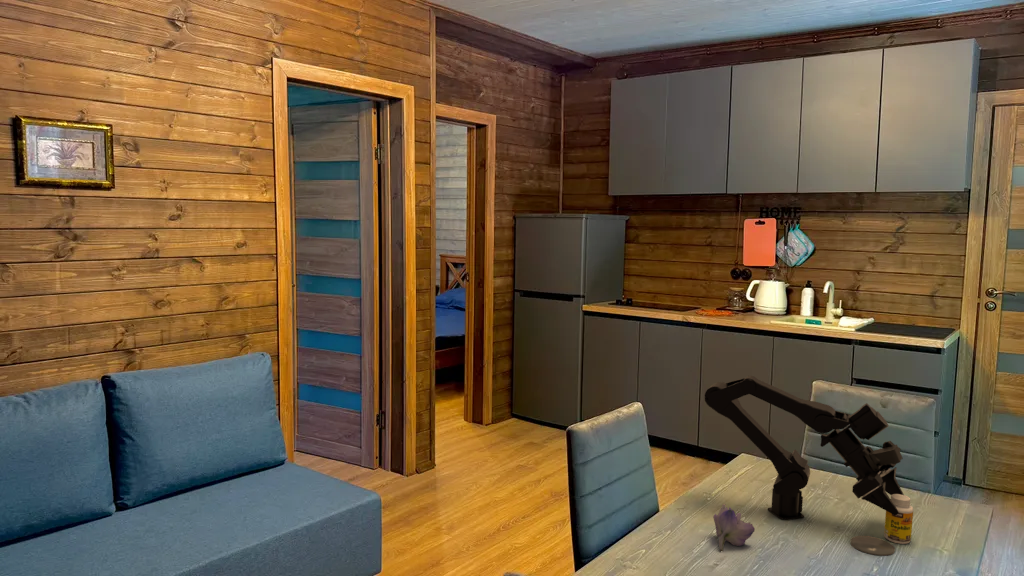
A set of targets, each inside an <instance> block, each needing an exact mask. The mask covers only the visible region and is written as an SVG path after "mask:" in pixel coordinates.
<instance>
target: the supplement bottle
mask: <svg viewBox="0 0 1024 576" xmlns="http://www.w3.org/2000/svg"><path fill="white" fill-rule="evenodd" d="M890 499H891V501H892V502H893V504H894V505H895V507H896V508H897V510H898V512H899V513H898V514H897V515H893V514H891V513H890V512H888V511H886V510H885V518H884V530H883V536H884V538H885V539H886V540H887V541H890V543H891V542H892V543H894V544H899V545H900V544H901V545H906V544H909V543H910V542H911V541H912V532H913V531H912V530H913V519H914V518H913V517H914V507H913V506H912V505H911V498H910V497H909V496H907V495H905V494H904V495H901V494H892V495H890Z"/></svg>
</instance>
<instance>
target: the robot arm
mask: <svg viewBox="0 0 1024 576" xmlns="http://www.w3.org/2000/svg"><path fill="white" fill-rule="evenodd" d="M747 395H748V396H749V395H751V396H753V397H755V398H757V399H759V400H762V401H764V402H766V403H768V404H771V405H773V406H774V407H777V408H779V409H780V410H783V411H785V412H787V413H789V414H792V415H793V416H795V417H797V418H798V419H799V421H801V422H803V424H805V425H806V426H808V428H811V429H812V430H814V431H815V432H817V433H818V434H820V447H821V448H822V447H825V446H827V445H828V444H830V446H832V448H833V449H834V450H835V451H836V453H838V455H839V456H840V458H842V460H843V461H844V463H843V466H845V467H846V468H847V467H849V468H850V469H851V470H852V471H853V472H854V474H855V475H856V478H855V480H857V481H856V482H855V483H854V484H853V485H852V490H851V491H852V494H853V495H855V496H856V498H857V499H860V498H861V500H862V501H863V500H865V501H866V502H869V503H871V504H873V505H875V506H877V507H879V508H880V509H882V510H884V511H885V512H886V511H888V512H890V513H891V514H893V515H897V514H898V513H899V512H898V510H897V508H896V507H895V505H894V504H893V502H892V501H891V497H890V496H891V495H892V494H901V495H905V494H904V492H903V490H902V489H901V486H900V484H899V482H898V480H897V478H896V475H897V467H895V466H896V465H897V464H900V463H901V461H902V460H903V455H902V453H901V448H900V447H899V446H898V444H895V443H894V442H893V441H891V440H889V441H885V442H883V443H882V447H880V448H878V449H875V450H873V449H872V448H871V447H872V446H871V447H870V446H869V445H867V446H865V445H864V444H863V443H862V441H860V439H861V440H868V441H870V439H872V438H874V437H875V436H877V435H878V434H880V433H881V432H883V431H884V430H886V428H888V427H889V424H888V422H887V420H886V419H885V417H883V415H882V414H881V413H880V412H879V411H877V410H876V409H874V407H871V406H870V404H868V403H867V402H866V403H864V404H863V405H862V406H861V407H860V408H859V409H857V410H856V411H855V412H853V413H852V414H849V413H846V412H841V411H838V410H835V408H833V406H831V405H828V404H825V403H821V402H818V401H814V400H807V399H803V398H801V397H798V396H795V395H794V394H792V393H789V392H787V391H785V390H782V389H780V388H778V387H776V386H773V385H771V384H769V383H768V382H765V381H763V380H761V379H759V378H758V377H756V376H755V375H748V376H745V377H743V378H739V379H736V380H731V381H728V382H723V381H722V382H721V381H718V382H714V383H713V384H712V385H711V386H709V387H708V388H707V390H705V393H704V401H705V403H706V405H707V406H708V407H710V409H712V410H714V411H715V412H716V413H718V414H719V415H721V416H723V417H725V418H727V419H729V420H730V421H731V422H732V423H733V424H734V426H735V427H737V428H738V429H739V430H740V431H741V432H742V433H743V434H744V436H746V437H747V438H748V440H750V442H751V443H752V444H754V446H756V447H757V448H758V450H759V451H761V453H762V454H763V455H764V456H765V457H767V458H768V459H769V461H771V463H772V465H773V467H774V469H775V471H776V473H777V474H776V475H777V476H776V478H775V480H774V483H773V486H772V489H771V490H772V491H771V493H772V494H771V506H770V507H767V511H769V512H770V513H772V514H773V515H775V517H777V518H778V519H780V520H795V519H804V518H805V517H806V515H805V514H803V513H802V512H803V503H804V497H803V491H802V490H803V489H804V488H806V487H807V485H808V482H809V480H810V476H811V469H810V465H809V464H808V462H809V461H808V460H807V459H806V458H803V456H801V453H799V451H798V450H797V449H794V450H793V451H792V452H790V451H789V450H786V449H785V448H784V447H782V445H781V444H780V443H778V442H777V441H776V439H775V438H774V437H772V435H770V434H769V432H768V431H767V430H765V428H764V427H762V426H761V424H760V423H759V422H758V421H756V419H755V418H754V417H752V415H751V414H750V413H749V412H748V411H747V410H745V408H744V407H743V406H742V404H741V401H740V400H739V399H740V398H742V397H744V396H747ZM827 433H828V434H827ZM889 495H890V496H889Z"/></svg>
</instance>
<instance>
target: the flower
mask: <svg viewBox="0 0 1024 576" xmlns="http://www.w3.org/2000/svg"><path fill="white" fill-rule="evenodd" d="M741 518H742V513H741V512H738V513H735V511H734V510H733V509H732V507H731V506H729V507H726V504H724V503H722V506H721V507H720V510H719V512H718V514H716V513H714V515H713V518H712V519H713V522H714V527H715V533H716V536H717V538H719V539H718V546H719V552H721V551H723V552H724V545H725V542H729V543H730V544H731V545H733V546H737V547H741V546H744V545H745V544H746V541H747V540H748V539H749V538H751V537H752V536H753V534H754V532H755V530H756V529H755V527H754V526H753V523H751V521H749V522H744V520H742V519H741Z"/></svg>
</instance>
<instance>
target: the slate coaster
mask: <svg viewBox="0 0 1024 576" xmlns="http://www.w3.org/2000/svg"><path fill="white" fill-rule="evenodd" d="M849 542H850V543H849V544H850V545H851V546H852V547H853V548H854V549H856V550H858V551H859V552H862V553H865V554H867V555H872V556H877V557H882V556H884V557H887V556H891V555H893V554H895V552H896V551H895V550H896V548H895V546H894V545H893V544H892V543H891V542H888V540H884V539H882V538H879V537H874V536H871V535H870V536H869V535H856V536H853V537H851V538H850V541H849Z"/></svg>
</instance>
